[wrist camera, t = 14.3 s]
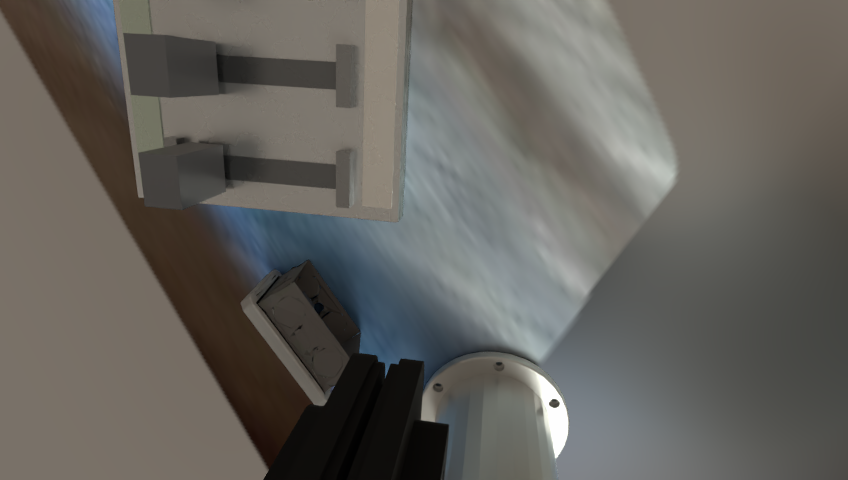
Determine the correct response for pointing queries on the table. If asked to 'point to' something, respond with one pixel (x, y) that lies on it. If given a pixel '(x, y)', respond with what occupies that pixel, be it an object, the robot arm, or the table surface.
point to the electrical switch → (304, 327)
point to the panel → (288, 100)
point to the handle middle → (170, 66)
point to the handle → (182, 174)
